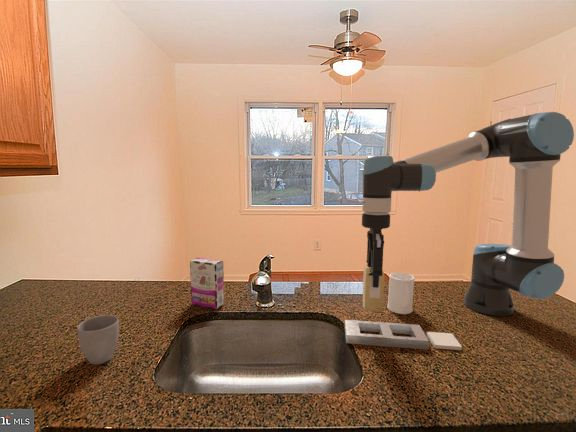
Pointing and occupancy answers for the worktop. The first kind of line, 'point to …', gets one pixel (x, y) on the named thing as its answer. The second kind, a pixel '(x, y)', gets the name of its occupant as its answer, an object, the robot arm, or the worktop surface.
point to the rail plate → (385, 334)
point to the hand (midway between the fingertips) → (372, 293)
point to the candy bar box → (207, 283)
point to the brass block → (368, 302)
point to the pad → (444, 341)
